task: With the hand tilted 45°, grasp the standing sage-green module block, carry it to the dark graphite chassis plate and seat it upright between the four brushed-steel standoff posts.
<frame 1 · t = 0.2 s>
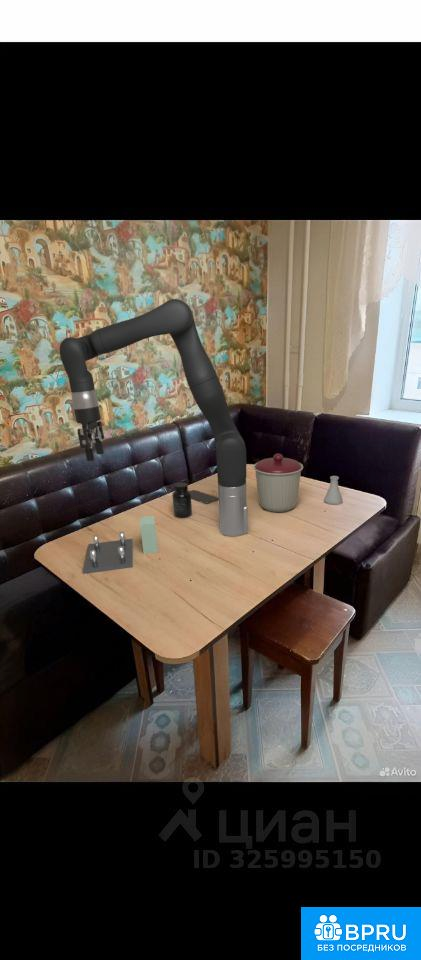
hand: (95, 457, 129), 28 cm above the table, tool pointing down, fingers open, 8 cm apart
canister: (277, 507, 155), on the table
chassis: (109, 556, 125), on the table
flask: (333, 502, 157), on the table
smartphone: (199, 498, 168), on the table
module: (150, 548, 129), on the table
supplement bottle: (183, 515, 152), on the table
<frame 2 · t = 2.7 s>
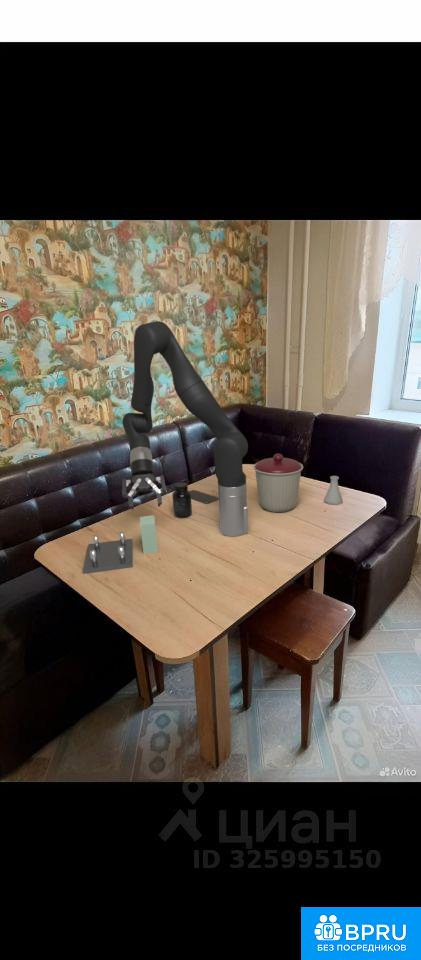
hand: (145, 507, 131), 11 cm above the table, tool tilted 45°, fingers open, 8 cm apart
nothing on the table moved.
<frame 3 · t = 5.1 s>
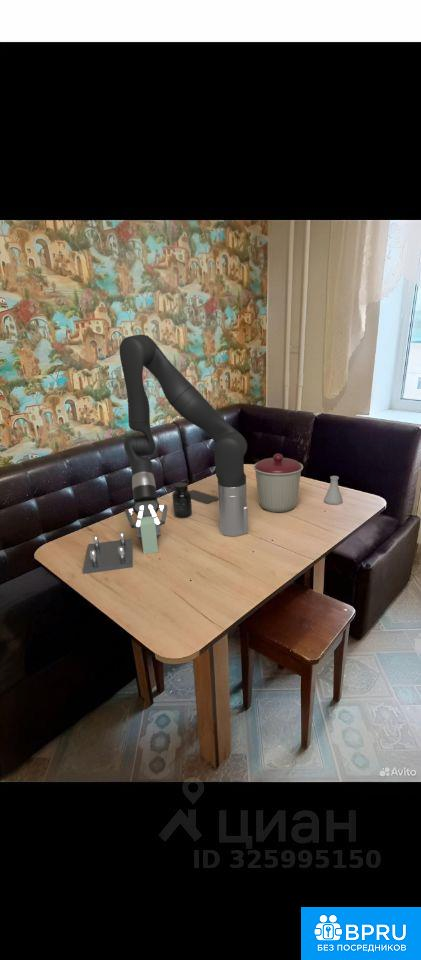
hand: (149, 538, 125), 5 cm above the table, tool tilted 45°, fingers closed on module, 4 cm apart
module: (150, 548, 129), on the table, touching gripper
everything else where it was.
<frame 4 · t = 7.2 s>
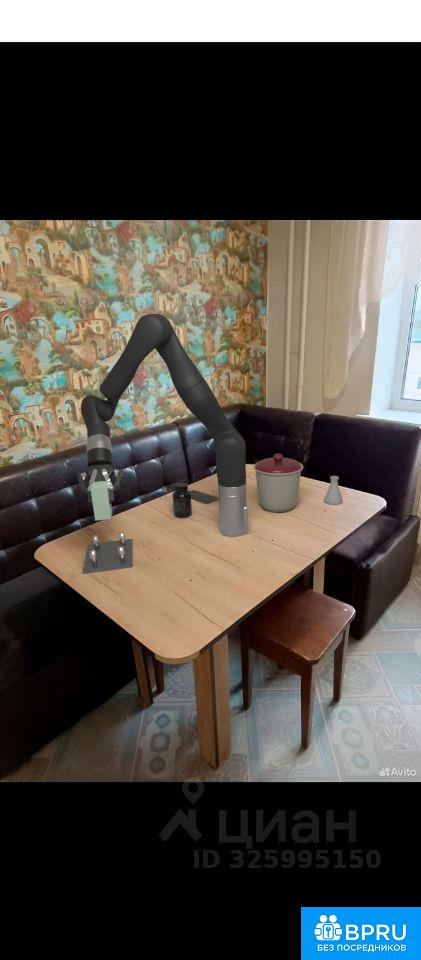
hand: (101, 503, 117), 18 cm above the table, tool tilted 45°, fingers closed on module, 4 cm apart
module: (103, 515, 121), point 14 cm above the table, touching gripper
everything else where it was.
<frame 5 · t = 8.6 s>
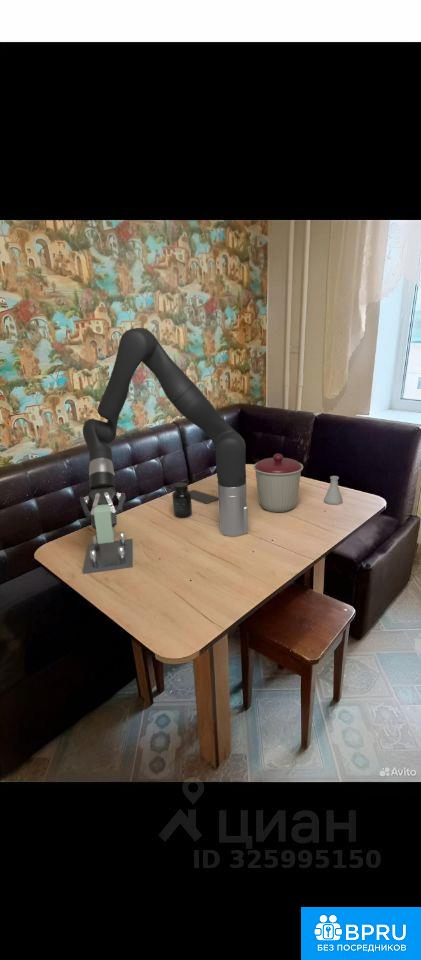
hand: (104, 527, 120), 11 cm above the table, tool tilted 45°, fingers closed on module, 4 cm apart
module: (106, 538, 123), point 6 cm above the table, touching gripper
everything else where it was.
when the fingers open (7 cm above the table, at t = 9.7 s): module drops 1 cm, resting on chassis.
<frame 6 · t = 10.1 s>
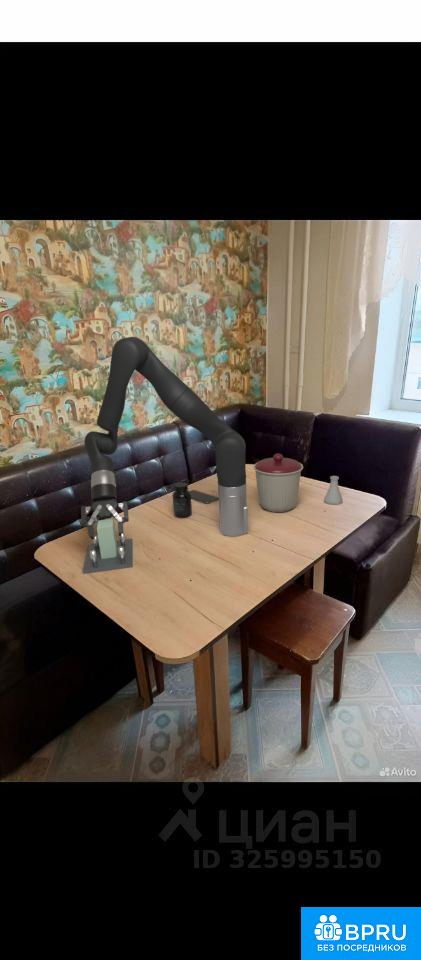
hand: (106, 536, 121), 8 cm above the table, tool tilted 45°, fingers open, 7 cm apart
module: (109, 553, 125), point 1 cm above the table, touching chassis
everything else where it was.
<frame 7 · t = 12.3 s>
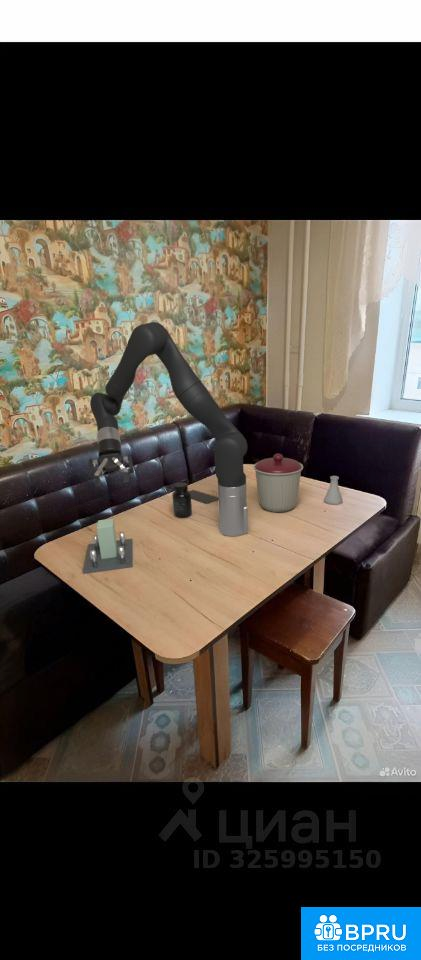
hand: (112, 486, 130), 19 cm above the table, tool tilted 45°, fingers open, 8 cm apart
nothing on the table moved.
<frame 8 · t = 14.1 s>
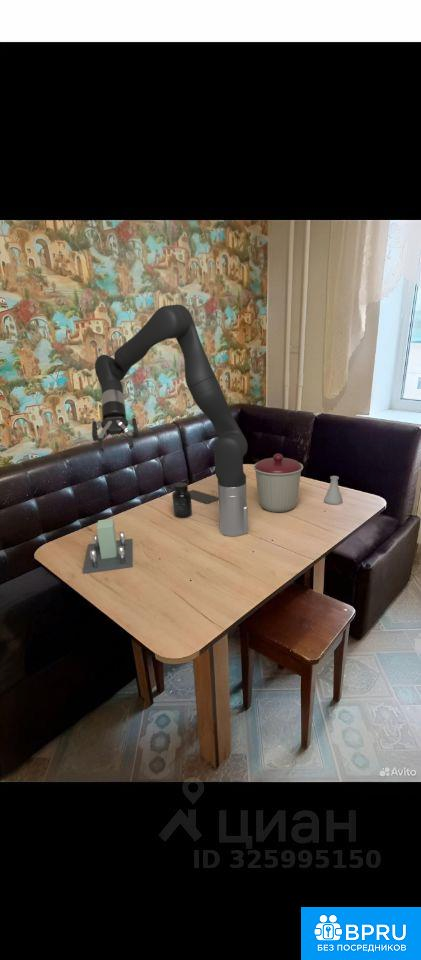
hand: (116, 449, 127), 31 cm above the table, tool tilted 45°, fingers open, 8 cm apart
nothing on the table moved.
at the end: module 0.1 cm off-centre on the chassis, point 1.2 cm above the chassis's base; module tilted 0°; the gripper is holding nothing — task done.
